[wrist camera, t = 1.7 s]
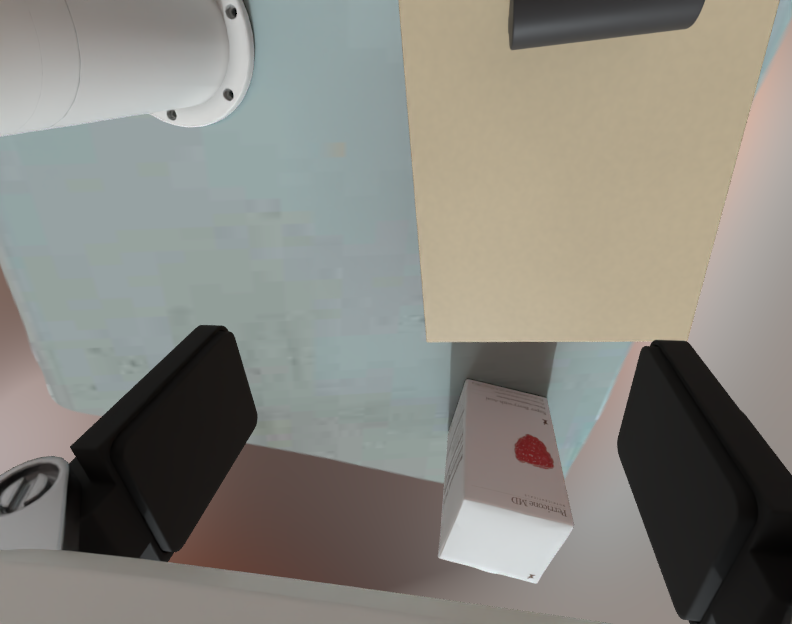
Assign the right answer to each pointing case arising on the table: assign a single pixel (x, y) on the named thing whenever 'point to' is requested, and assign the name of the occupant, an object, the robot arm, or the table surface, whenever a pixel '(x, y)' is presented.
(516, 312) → the lid
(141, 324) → the table surface
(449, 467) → the rectangular carton
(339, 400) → the table surface
